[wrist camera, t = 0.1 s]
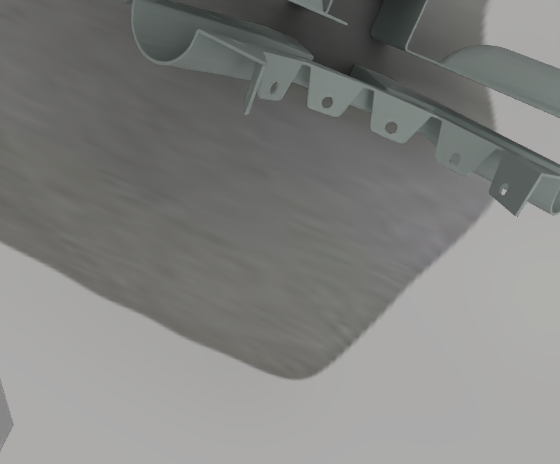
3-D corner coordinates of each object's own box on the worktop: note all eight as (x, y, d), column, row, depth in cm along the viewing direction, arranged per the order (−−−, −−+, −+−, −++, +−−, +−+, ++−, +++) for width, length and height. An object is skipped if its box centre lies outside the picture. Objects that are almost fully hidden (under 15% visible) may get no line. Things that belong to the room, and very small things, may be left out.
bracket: (112, -5, 33) (-44, 13, 15) (143, -133, 30) (-1, -303, 12) (488, 147, 39) (706, 292, 21) (542, 51, 36) (846, 123, 18)
